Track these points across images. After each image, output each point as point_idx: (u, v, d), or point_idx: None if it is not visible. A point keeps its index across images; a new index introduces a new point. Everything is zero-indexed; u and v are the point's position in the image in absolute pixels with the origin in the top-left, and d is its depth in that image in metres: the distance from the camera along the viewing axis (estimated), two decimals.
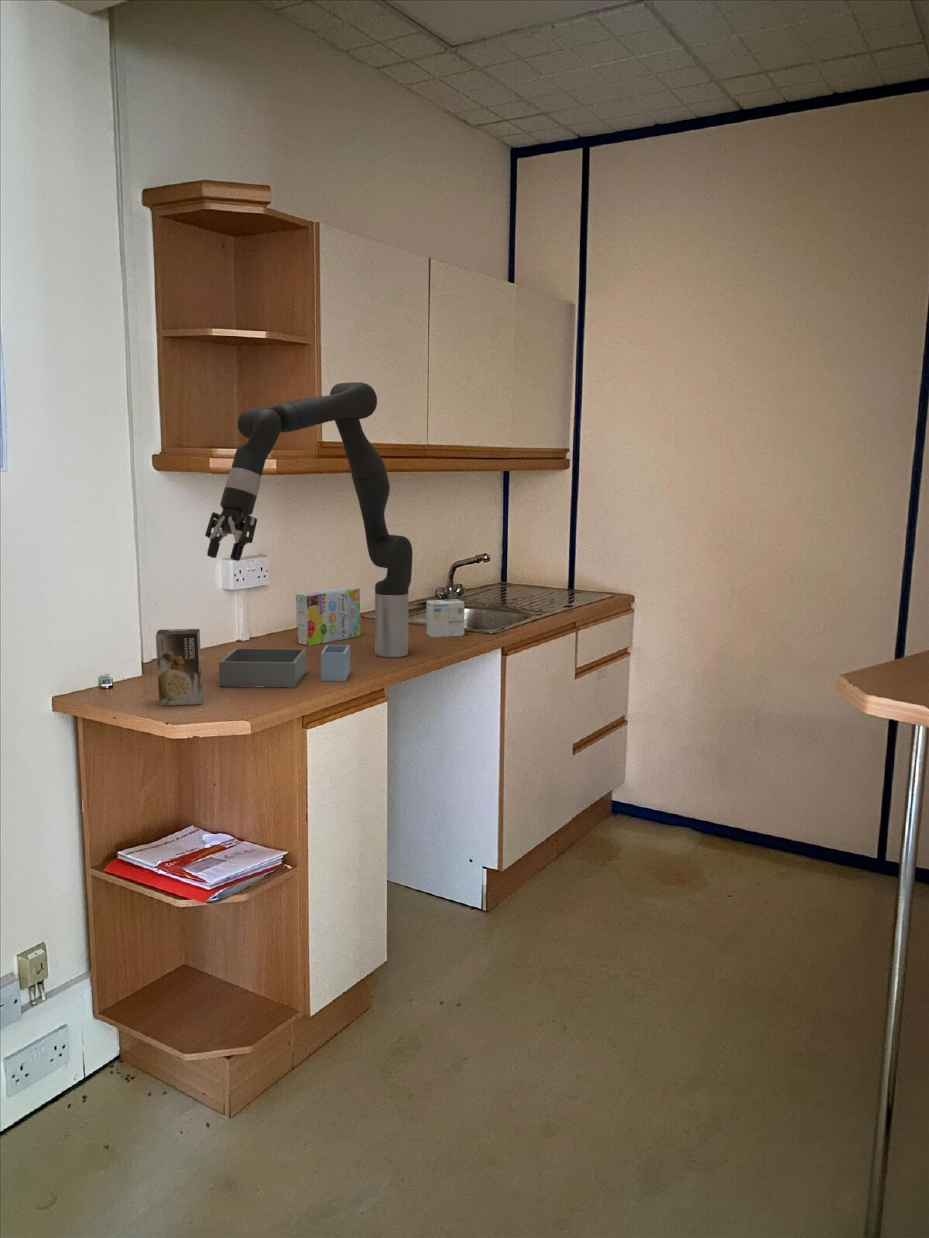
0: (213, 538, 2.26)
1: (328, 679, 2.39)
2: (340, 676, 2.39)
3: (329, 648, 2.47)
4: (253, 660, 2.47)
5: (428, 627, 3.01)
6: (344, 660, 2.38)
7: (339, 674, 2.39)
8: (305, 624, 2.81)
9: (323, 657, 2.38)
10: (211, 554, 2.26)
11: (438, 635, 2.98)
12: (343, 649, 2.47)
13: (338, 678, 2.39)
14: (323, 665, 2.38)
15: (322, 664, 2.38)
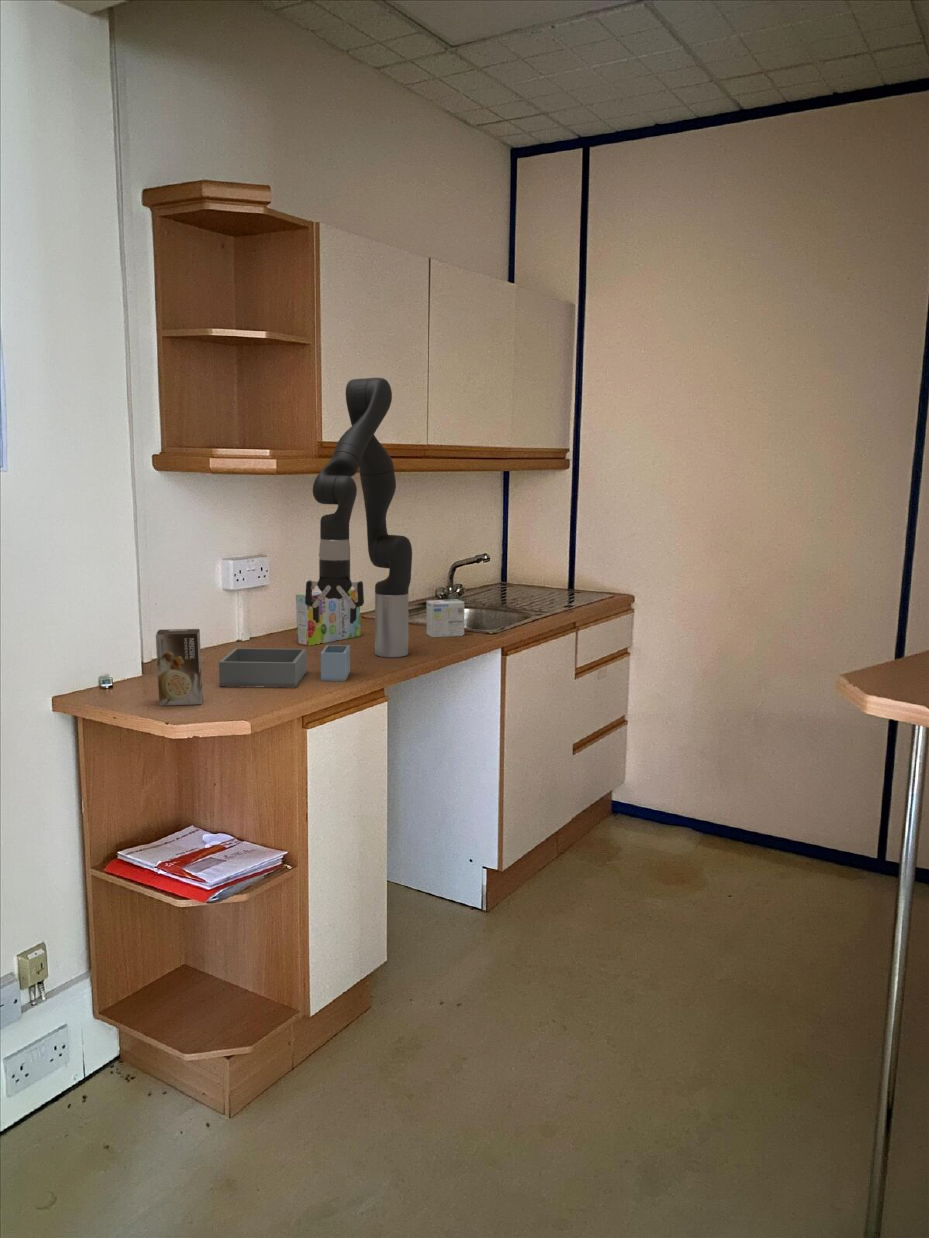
0: (317, 606, 2.40)
1: (328, 679, 2.39)
2: (340, 676, 2.39)
3: (329, 648, 2.47)
4: (253, 660, 2.47)
5: (428, 627, 3.01)
6: (344, 660, 2.38)
7: (339, 674, 2.39)
8: (305, 624, 2.81)
9: (323, 657, 2.38)
10: (318, 620, 2.41)
11: (438, 635, 2.98)
12: (343, 649, 2.47)
13: (338, 678, 2.39)
14: (323, 665, 2.38)
15: (322, 664, 2.38)
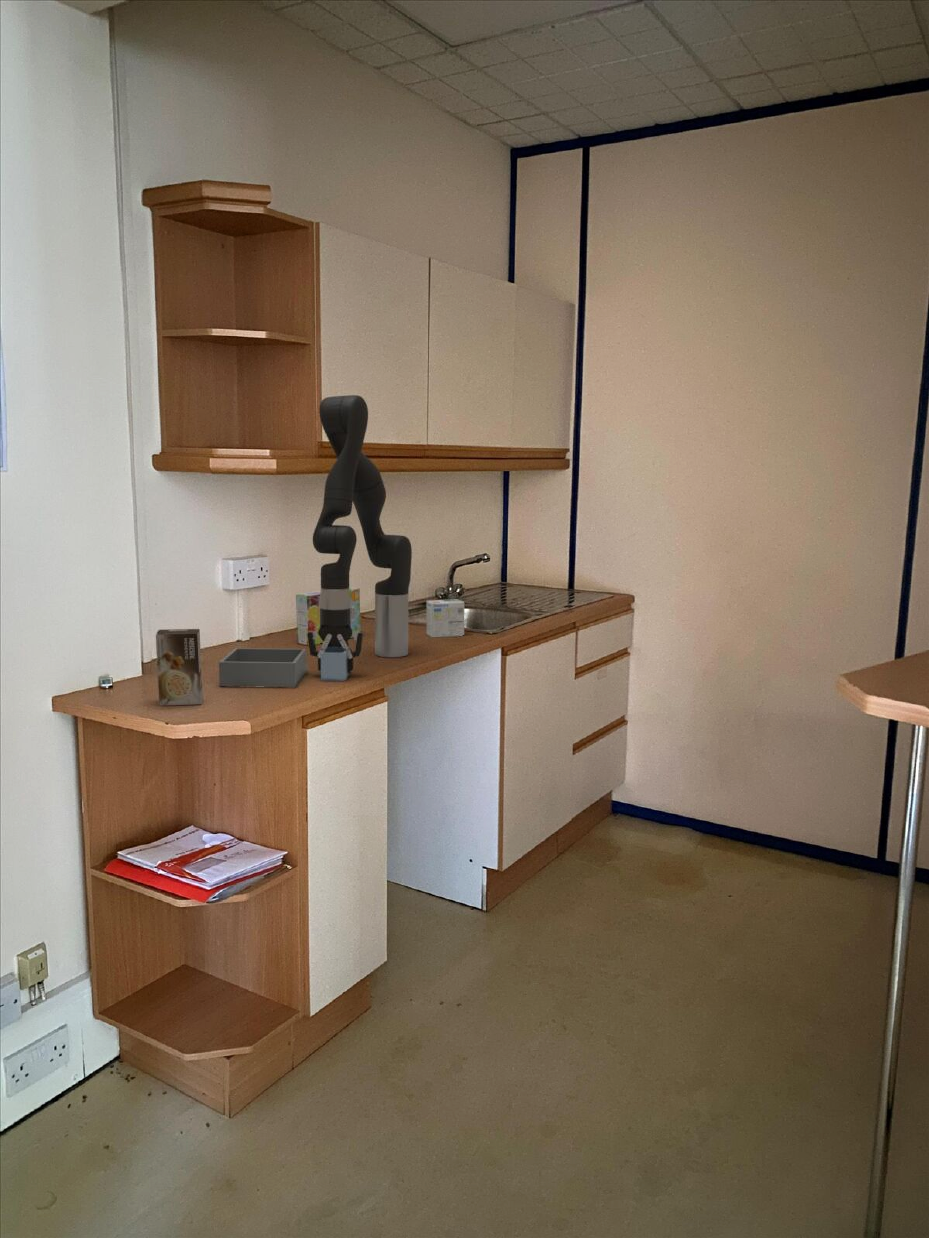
0: None
1: (328, 679, 2.39)
2: (340, 676, 2.39)
3: (329, 648, 2.47)
4: (253, 660, 2.47)
5: (428, 627, 3.01)
6: (344, 660, 2.38)
7: (339, 674, 2.39)
8: (306, 624, 2.81)
9: (323, 657, 2.38)
10: None
11: (438, 635, 2.98)
12: (343, 649, 2.47)
13: (338, 678, 2.39)
14: (323, 665, 2.38)
15: (322, 664, 2.38)
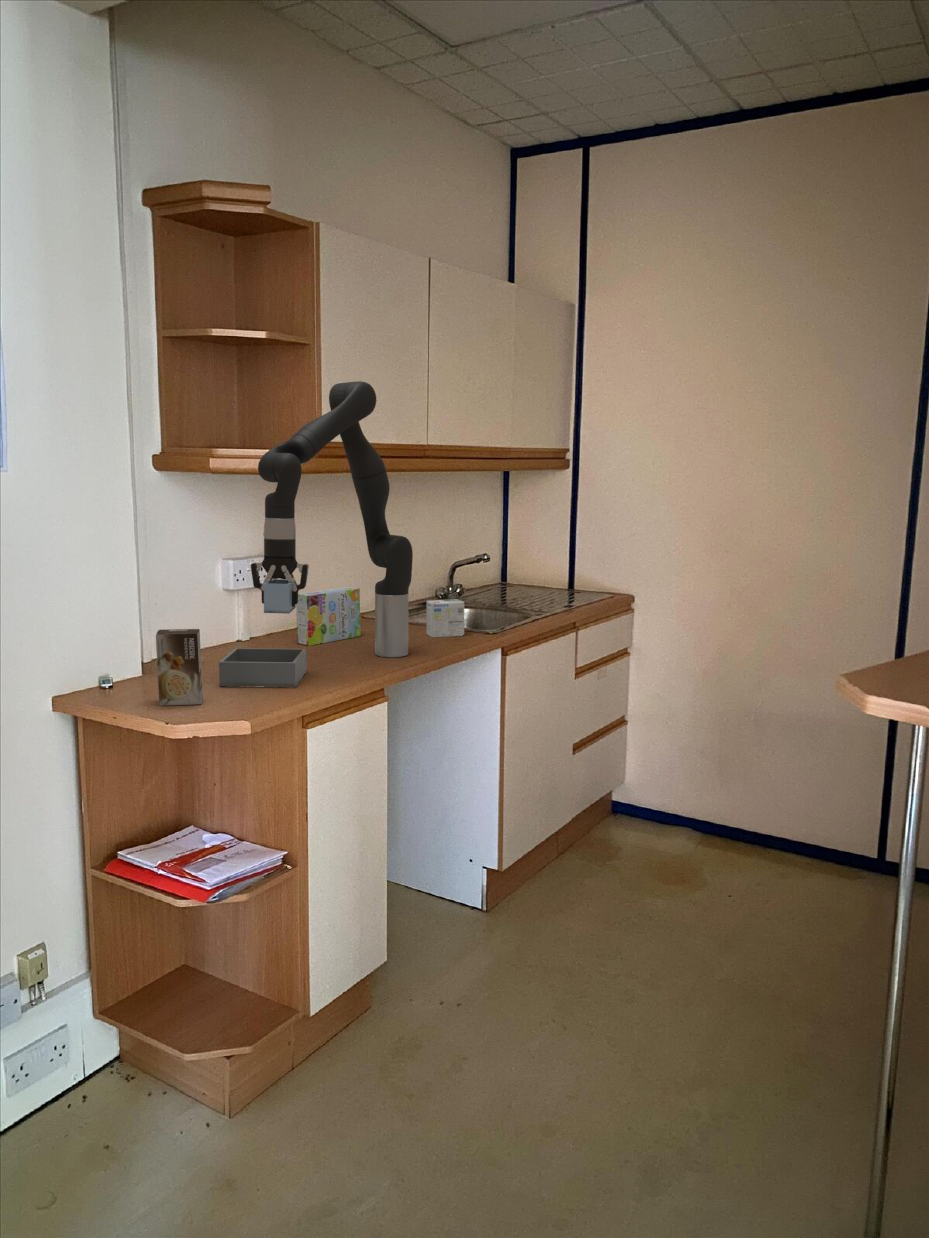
0: None
1: (271, 611, 2.32)
2: (284, 608, 2.32)
3: (274, 582, 2.41)
4: (253, 660, 2.47)
5: (428, 627, 3.01)
6: (288, 591, 2.32)
7: (283, 606, 2.32)
8: (305, 624, 2.81)
9: (266, 588, 2.31)
10: None
11: (438, 635, 2.98)
12: (288, 583, 2.41)
13: (282, 610, 2.32)
14: (266, 597, 2.32)
15: (265, 595, 2.32)
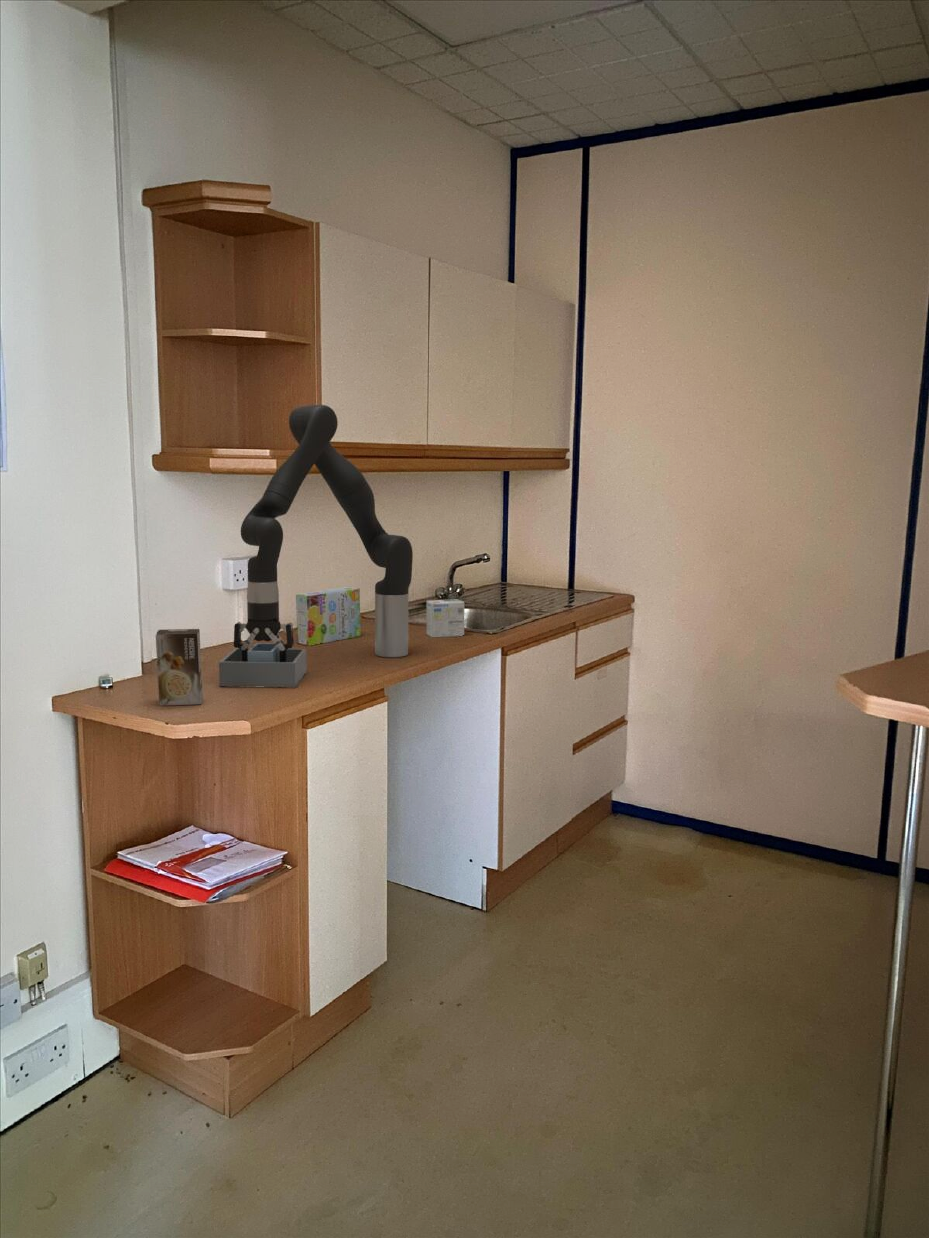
0: (246, 648, 2.38)
1: None
2: None
3: (259, 646, 2.43)
4: None
5: (428, 627, 3.01)
6: (271, 658, 2.34)
7: None
8: (306, 624, 2.81)
9: (250, 655, 2.34)
10: None
11: (438, 635, 2.98)
12: (273, 647, 2.43)
13: None
14: None
15: None
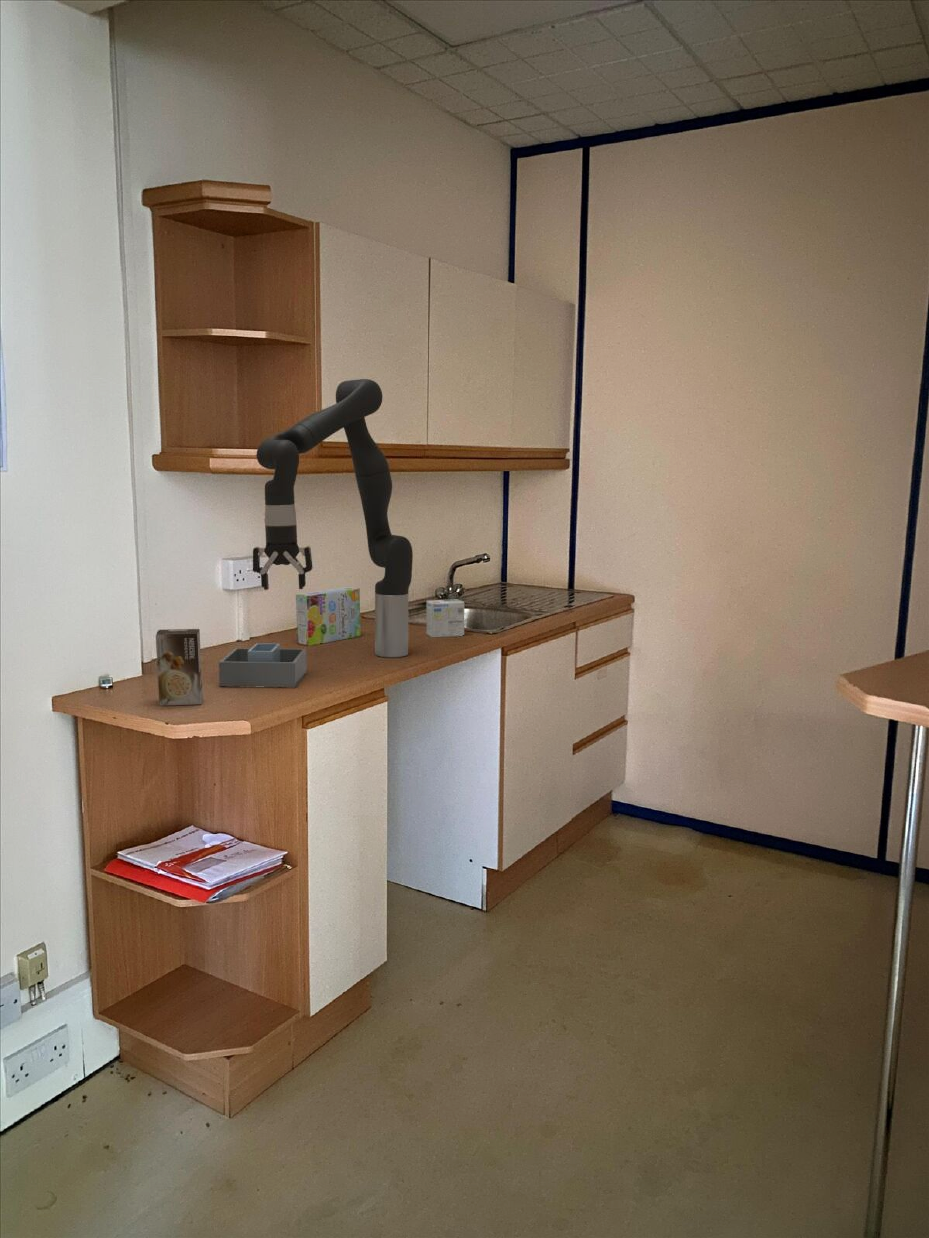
0: (265, 572, 2.38)
1: None
2: None
3: (259, 646, 2.43)
4: None
5: (428, 627, 3.01)
6: (271, 658, 2.34)
7: None
8: (305, 624, 2.81)
9: (250, 655, 2.34)
10: (267, 587, 2.40)
11: (438, 635, 2.98)
12: (273, 647, 2.43)
13: None
14: None
15: None
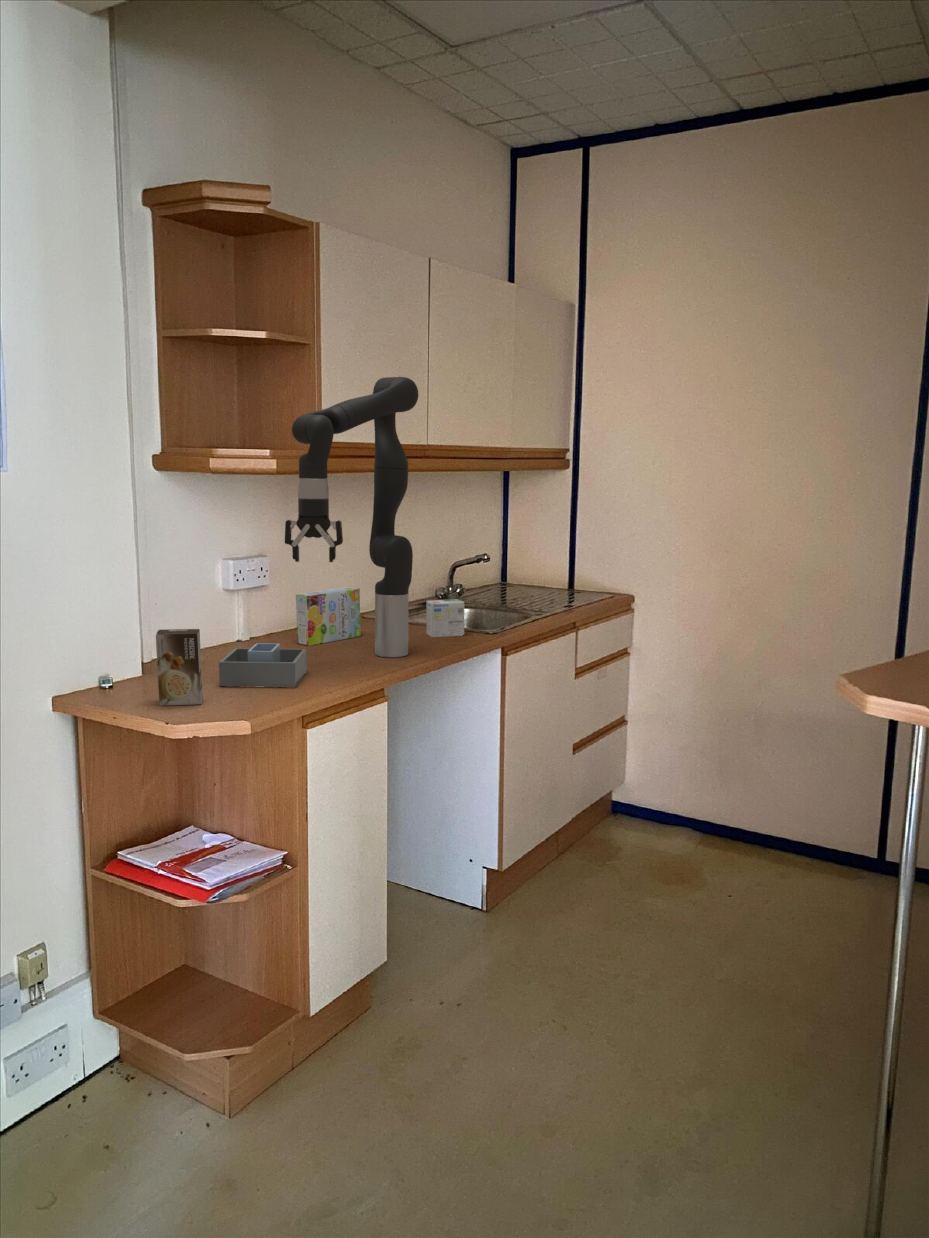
0: (296, 545, 2.44)
1: None
2: None
3: (259, 646, 2.43)
4: None
5: (428, 627, 3.01)
6: (271, 658, 2.34)
7: None
8: (305, 624, 2.81)
9: (250, 655, 2.34)
10: (298, 559, 2.45)
11: (438, 635, 2.98)
12: (273, 647, 2.43)
13: None
14: None
15: None
